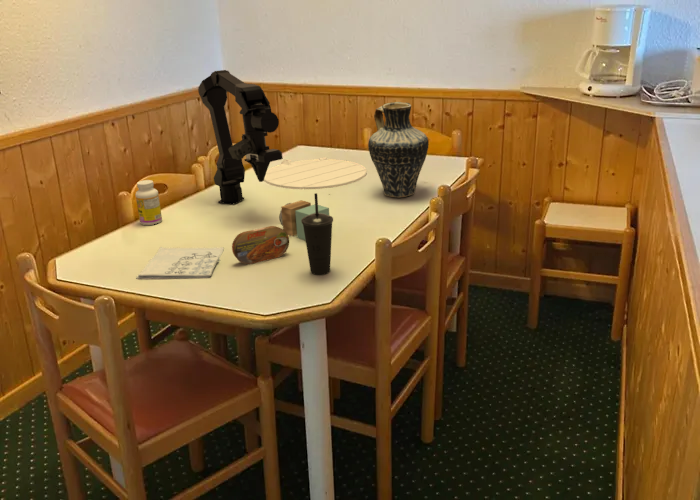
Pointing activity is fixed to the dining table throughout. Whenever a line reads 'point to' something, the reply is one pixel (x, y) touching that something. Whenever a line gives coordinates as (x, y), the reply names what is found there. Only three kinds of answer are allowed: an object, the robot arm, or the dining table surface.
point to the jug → (397, 149)
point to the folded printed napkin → (182, 263)
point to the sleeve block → (292, 216)
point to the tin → (260, 244)
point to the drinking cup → (318, 240)
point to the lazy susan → (314, 173)
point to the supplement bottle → (148, 203)
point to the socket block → (305, 212)
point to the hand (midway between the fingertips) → (261, 181)
